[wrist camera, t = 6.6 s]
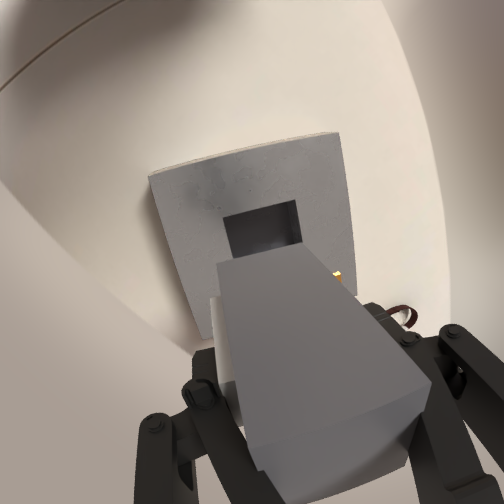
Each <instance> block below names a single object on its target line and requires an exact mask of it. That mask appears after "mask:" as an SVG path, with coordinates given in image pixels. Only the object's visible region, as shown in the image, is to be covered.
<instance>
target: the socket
mask: <svg viewBox="0 0 504 504" xmlns="http://www.w3.org/2000/svg"><path fill="white" fill-rule="evenodd" d="M148 178H149V182H150V185H151V189H152V192H153V196H154V199H155V203H156V206H157V209H158V213H159V216H160V219H161V222H162V226H163V229H164V232H165V235H166V238H167V241H168V245H169V248H170V251H171V254H172V257H173V260H174V263H175V266H176V269H177V272H178V274H179V277H180V280H181V283H182V286H183V289H184V292H185V294H186V297H187V300H188V303H189V305H190V308H191V311H192V314H193V316H194V319H195V322H196V324H197V327H198V330H199V332H200V335H201V337H202V340H205V339H209V338H213V327H212V316H211V305H210V298H213V297H217V296H221V293H220V287H219V280H218V273H217V266H216V263H219V262H223V261H227V260H231V259H235V258H240V257H244V256H248V255H252V254H256V253H260V252H264V251H268V250H272V249H277V248H281V247H285V246H289V245H293V244H297V243H301V242H302V243H303V244H304V245H305V246H306V247H307V248H308V249H309V250H310V251H311V252H312V253H313V254H314V255H315V256H316V257H317V258H318V259H319V260H320V261H321V262H322V263H323V264H324V265H325V267H326V268H327V269H328V270H329V271H330V272H331V273H332V274H333V275H334V276H335V277H336V278H337V279H338V280H339V281H340V282H341V283H342V284H343V285H344V286H345V287H346V288H347V289H348V291H349V292H350V293H351V294H352V295H353V296H357V279H356V264H355V252H354V241H353V231H352V221H351V212H350V204H349V196H348V188H347V181H346V174H345V167H344V161H343V154H342V148H341V142H340V137H339V132H322V133H316V134H310V135H304V136H299V137H293V138H288V139H283V140H278V141H273V142H268V143H263V144H259V145H254V146H249V147H245V148H241V149H236V150H232V151H228V152H224V153H220V154H216V155H212V156H208V157H204V158H200V159H196V160H193V161H189V162H185V163H182V164H178V165H175V166H171V167H168V168H164V169H161V170H157V171H154V172H153V173H152V174H150V175H149V176H148Z"/></svg>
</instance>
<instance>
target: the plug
mask: <svg viewBox="0 0 504 504" xmlns="http://www.w3.org/2000/svg"><path fill="white" fill-rule="evenodd" d="M216 266H217V273H218V280H219V287H220V293H221V300H222V306H223V312H224V318H225V325H226V331H227V337H228V343H229V349H230V354H231V360H232V366H233V372H234V377H235V383H236V388H237V394H238V399H239V404H240V410H241V415H242V420H243V425H244V430H245V435H246V440H247V445H248V449H249V452H250V454H251V456H252V459H253V461H254V463H255V466H256V468H257V470H258V471H262V470H264V471H265V472H266V474H267V476H268V477H269V479H270V480H271V482H272V483H273V485H274V487H275V488H276V490H277V491H278V493H279V494H280V496H281V497H282V499H283V500H284V502H285V503H286V504H307V503H311V502H314V501H317V500H321V499H324V498H327V497H330V496H333V495H336V494H339V493H341V492H344V491H347V490H350V489H352V488H355V487H358V486H360V485H363V484H365V483H368V482H370V481H372V480H375V479H377V478H380V477H382V476H384V475H386V474H389V473H391V472H393V471H395V470H397V469H399V468H401V467H403V466H405V463H406V460H407V458H408V456H409V455H408V449H409V447H410V444H411V441H412V438H413V435H414V432H415V429H416V426H417V423H418V419H419V416H420V413H421V412H423V411H424V409H425V406H426V402H427V399H428V395H429V392H430V388H431V384H432V382H431V381H430V380H429V379H428V377H427V376H426V375H425V374H424V373H423V372H422V371H421V369H420V368H419V367H418V366H417V365H416V364H415V363H414V361H413V360H412V359H411V358H410V357H409V356H408V355H407V354H406V352H405V351H404V350H403V349H402V348H401V347H400V346H399V345H398V344H397V342H396V341H395V340H394V339H393V338H392V337H391V336H390V335H389V334H388V333H387V331H386V330H385V329H384V328H383V327H382V326H381V325H380V324H379V323H378V322H377V320H376V319H375V318H374V317H373V316H372V315H371V314H370V313H369V312H368V311H367V310H366V309H365V308H364V306H363V305H362V304H361V303H360V302H359V301H358V300H357V299H356V298H355V297H354V296H353V295H352V294H351V293H350V292H349V291H348V289H347V288H346V287H345V286H344V285H343V284H342V283H341V282H340V281H339V280H338V279H337V278H336V277H335V276H334V275H333V274H332V273H331V272H330V271H329V270H328V269H327V268H326V267H325V265H324V264H323V263H322V262H321V261H320V260H319V259H318V258H317V257H316V256H315V255H314V254H313V253H312V252H311V251H310V250H309V249H308V248H307V247H306V246H305V245H304V244H303V243H302V242H301V243H297V244H293V245H289V246H285V247H281V248H277V249H272V250H268V251H264V252H260V253H256V254H252V255H248V256H244V257H240V258H235V259H231V260H227V261H223V262H219V263H216Z"/></svg>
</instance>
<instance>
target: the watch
mask: <svg viewBox="0 0 504 504" xmlns="http://www.w3.org/2000/svg"><path fill="white" fill-rule="evenodd" d="M409 308H410V309H411V317H410V319H409V320H408V322H407V323H406V324H404V325H403V326H401V327H402V328H403V329H404V330H405V331H407V330H408V329H409V328H411V327H412V326H413V325H414V324H415V323H416V321H417V318H418V314H417V312H416V310H414V309H413V308H411V307H409V306H407V305H399V306H395V307H392V308H390V309H388V310H386V312H387V313H388V314H389V315H392V314H394V313H396V312H399V310H402V309H409Z"/></svg>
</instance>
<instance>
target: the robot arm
mask: <svg viewBox="0 0 504 504" xmlns="http://www.w3.org/2000/svg"><path fill="white" fill-rule="evenodd" d="M210 305H211V316H212V327H213V337H214V347H213V348H208V349H204V350H199V351H196V353H195V354H194V356H193V358H192V374H193V375H192V379H191V380H190V381H188V382H187V383H186V384H185V385H184V386H183V388H182V390H181V391H182V396H183V399H184V400H185V402H186V404H187V406H188V408H186V409H185V410H184V411H182V412H181V413H179V414H176V415H174V416H171V417H169V416H168V415H167V414H164V413H154V414H150V415H149V416H147V417H146V418H144V419H143V421H142V422H141V424H140V427H139V435H138V446H137V458H136V471H135V487H134V504H199V500H198V489H197V478H196V467H195V459H197V458H199V457H201V456H203V455H206V454H208V456H209V458H210V460H211V463H212V465H213V467H214V469H215V471H216V473H217V476H218V478H219V480H220V482H221V484H222V486H223V488H224V490H225V492H226V494H227V496H228V498H229V500H230V502H231V504H286V503H285V502H284V500H283V499H282V497H281V496H280V494H279V493H278V491H277V490H276V488H275V487H274V485H273V483H272V482H271V480H270V479H269V477H268V476H267V474H266V472H265V471H264V470H262V471H258V470H257V468H256V466H255V463H254V461H253V459H252V456H251V454H250V452H249V449H248V445H247V441H246V439H245V438H244V436H243V434H242V433H241V431H240V429H239V428H238V427H240V426H244V425H243V420H242V415H241V410H240V404H239V399H238V394H237V388H236V383H235V377H234V372H233V366H232V360H231V354H230V349H229V343H228V337H227V331H226V325H225V318H224V312H223V306H222V300H221V296H217V297H213V298H210ZM363 306H364V308H365V309H366V310H367V311H368V312H369V313H370V314H371V315H372V316H373V317H374V318H375V319H376V320H377V322H378V323H379V324H380V325H381V326H382V327H383V328H384V329H385V330H386V331H387V333H388V334H389V335H390V336H391V337H392V338H393V339H394V340H395V341H396V342H397V344H398V345H399V346H400V347H401V348H402V349H403V350H404V351H405V352H406V354H407V355H408V356H409V357H410V358H411V359H412V360H413V361H414V363H415V364H416V365H417V366H418V367H419V368H420V369H421V371H422V372H423V373H424V374H425V375H426V376H427V377H428V379H429V380H430V381H431V382H432V384H431V388H430V392H429V395H428V399H427V402H426V406H425V409H424V411H423V412H421V413H420V416H419V419H418V423H417V426H416V429H415V432H414V435H413V438H412V441H411V444H410V447H409V449H408V455H409V459H410V463H411V467H412V471H413V475H414V479H415V484H416V488H417V492H418V497H419V502H420V504H504V500H503V497H502V494H501V491H500V488H499V485H498V482H497V480H496V478H495V477H494V476H492V475H489V474H486V473H484V471H483V469H482V466H481V463H480V461H479V458H478V456H477V453H476V450H475V448H474V445H473V443H472V440H471V438H470V435H469V433H468V430H467V428H466V426H465V423H464V421H465V422H466V424H467V425H468V426H469V427H470V429H471V430H472V431H473V433H474V434H475V435H476V436H477V438H478V439H479V440H480V441H481V443H482V444H483V445H484V447H485V448H486V449H487V451H488V452H489V453H490V455H491V456H492V457H493V459H494V460H495V461H496V463H497V464H498V465H499V467H500V468H501V469H502V471H503V472H504V363H503V362H502V361H501V360H500V359H499V358H498V357H497V356H495V355H494V354H493V353H492V352H491V351H490V350H489V349H488V348H486V347H485V346H484V345H483V344H482V343H481V342H480V341H479V340H478V339H476V338H475V337H474V336H473V335H472V334H471V333H470V332H468V331H467V330H466V329H465V328H464V327H462V326H460V325H457V324H448V325H445V326H443V327H442V328H441V329H440V331H439V335H438V336H433V337H427V338H422V337H421V335H420V334H418V333H416V332H411V331H405V330H404V329H403V328H402V327H401V326H400V325H399V324H398V323H397V322H396V321H395V320H394V319H393V318H392V317H391V316H390V315H389V314H388V313H387V312H386V311H385V310H384V309H383V308H382V307H381V306H380V305H377V304H375V303H373V302H371V303H368V304H365V305H363ZM459 367H460V368H461V369H462V370H463V371H462V370H461V369H460V368H459ZM463 420H464V421H463Z"/></svg>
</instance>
